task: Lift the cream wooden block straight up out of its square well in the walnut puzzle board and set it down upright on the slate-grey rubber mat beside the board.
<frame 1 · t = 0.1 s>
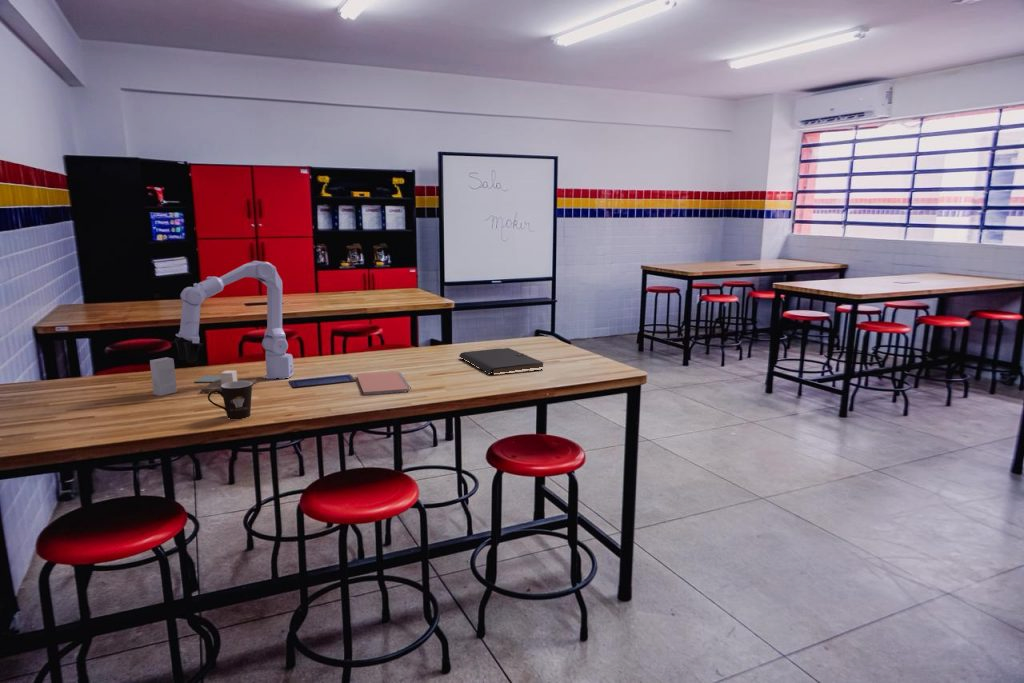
hand: (186, 361, 215), 11 cm above the table, tool pointing down, fingers open, 7 cm apart
skincare box: (165, 394, 213), on the table
cream block: (229, 380, 220), in the puzzle board
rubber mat: (212, 379, 232), on the table
dark hardcover book: (500, 366, 264), on the table
notebook: (383, 386, 229), on the table
puzzle board: (229, 388, 221), on the table
coffee mug: (233, 417, 189), on the table
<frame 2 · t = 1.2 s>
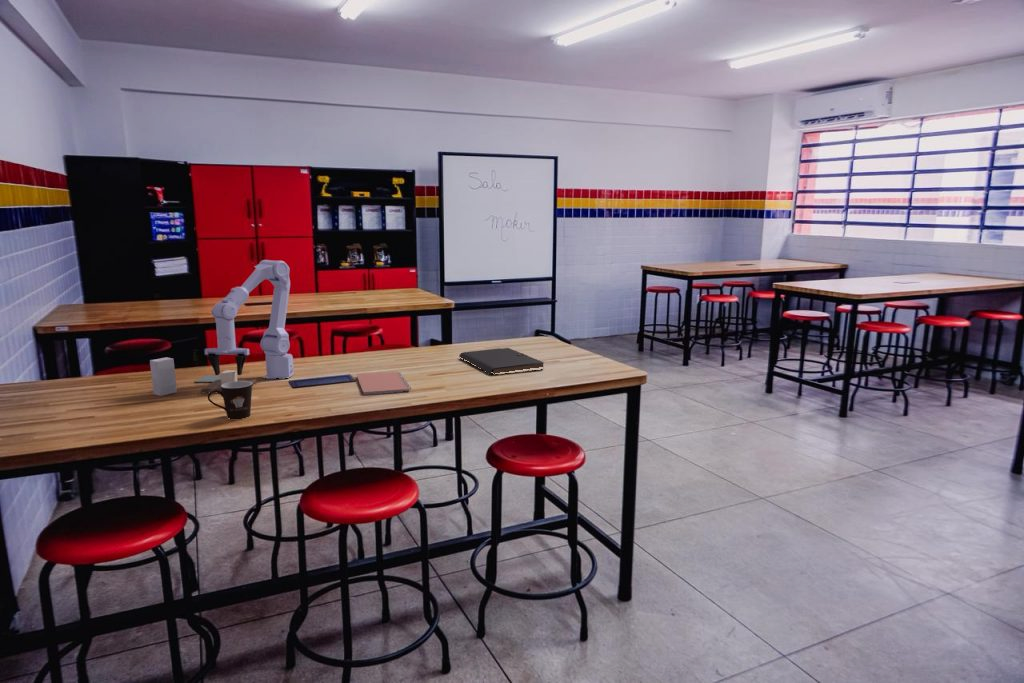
hand: (228, 374, 220), 5 cm above the table, tool pointing down, fingers open, 7 cm apart
nothing on the table moved.
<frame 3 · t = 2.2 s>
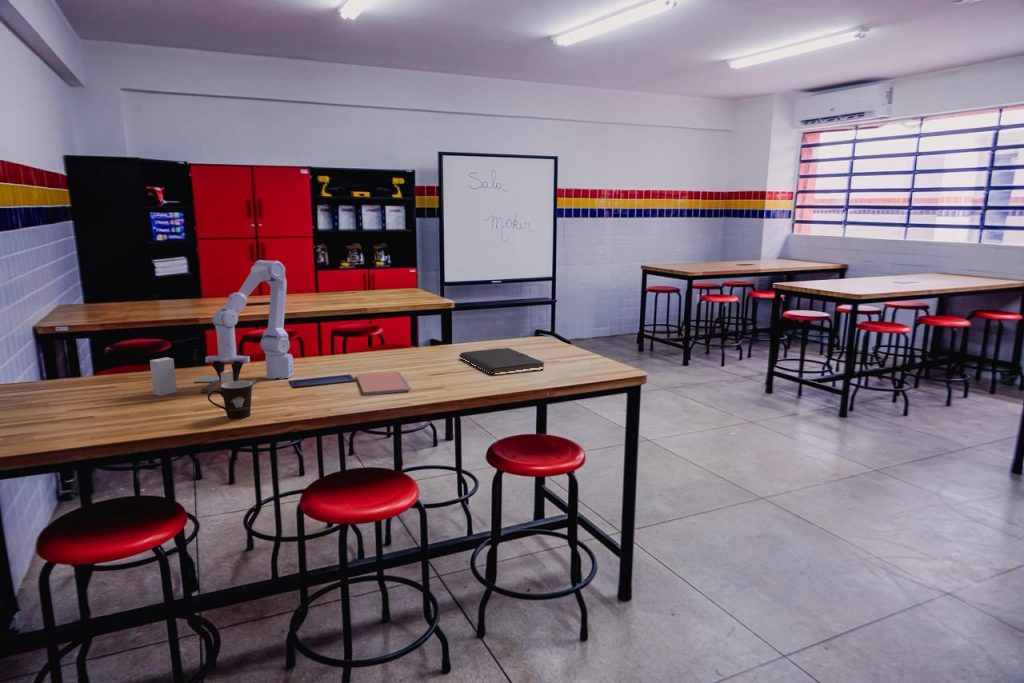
hand: (229, 382, 220), 2 cm above the table, tool pointing down, fingers closed on cream block, 4 cm apart
cream block: (229, 379, 220), in the puzzle board, touching gripper
everything else where it was.
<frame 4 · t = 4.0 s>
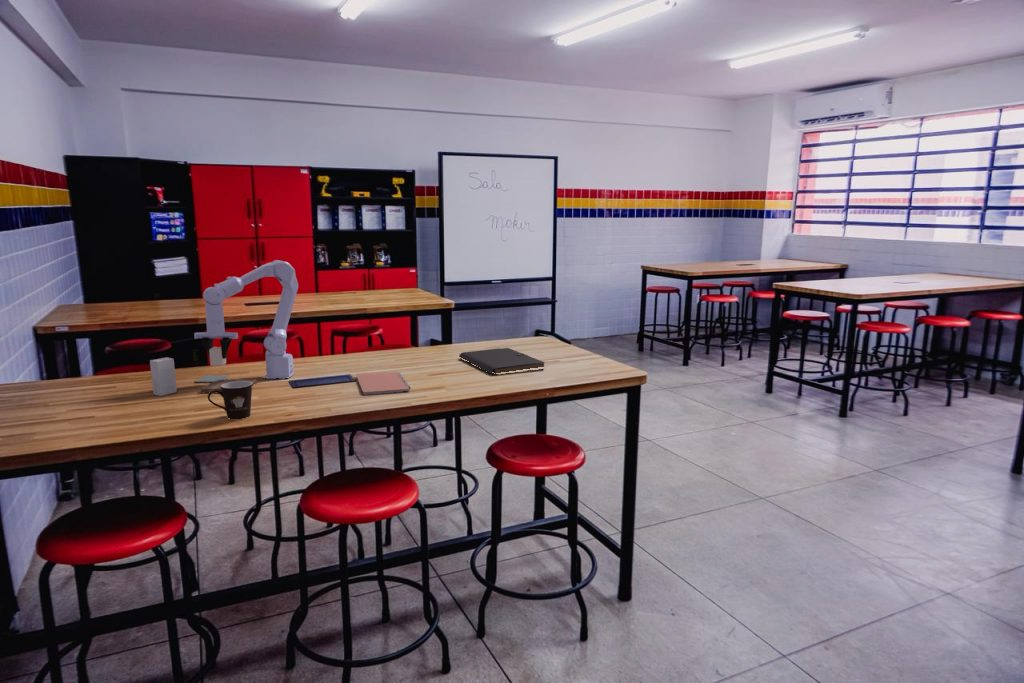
hand: (217, 358, 225), 9 cm above the table, tool pointing down, fingers closed on cream block, 4 cm apart
cream block: (217, 356, 225), point 10 cm above the table, touching gripper
everything else where it was.
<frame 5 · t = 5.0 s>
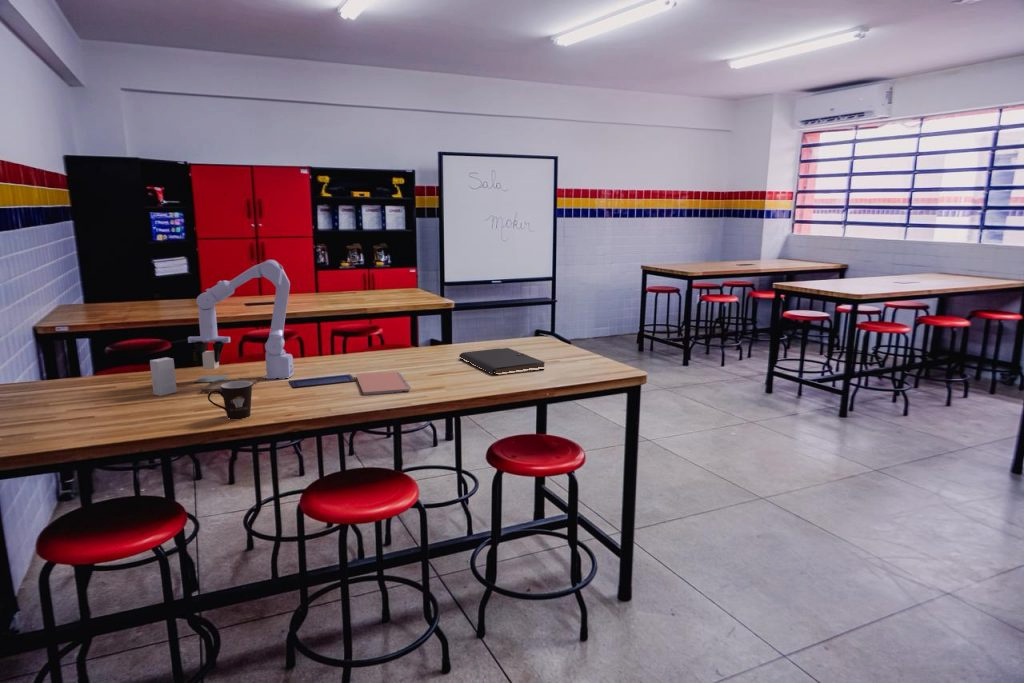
hand: (211, 361, 230), 7 cm above the table, tool pointing down, fingers closed on cream block, 4 cm apart
cream block: (210, 359, 230), point 8 cm above the table, touching gripper
everything else where it was.
when the fingers open (4 cm above the table, at t = 5.9 s): cream block drops 1 cm, resting on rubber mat.
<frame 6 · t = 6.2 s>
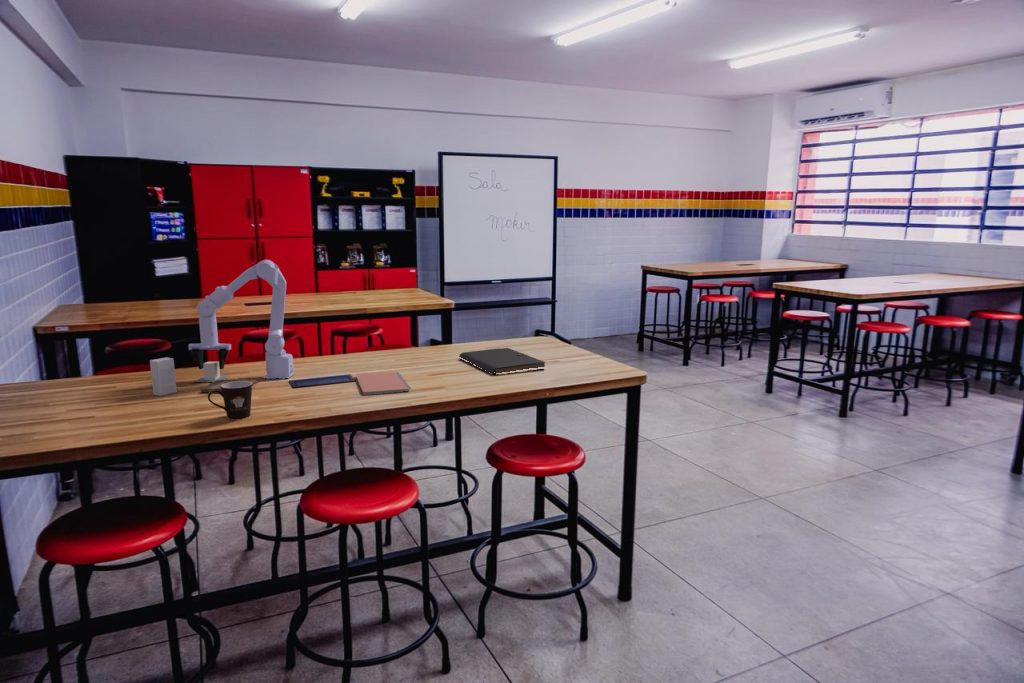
hand: (211, 368, 231), 4 cm above the table, tool pointing down, fingers open, 7 cm apart
cream block: (211, 370, 231), on the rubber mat
everything else where it was.
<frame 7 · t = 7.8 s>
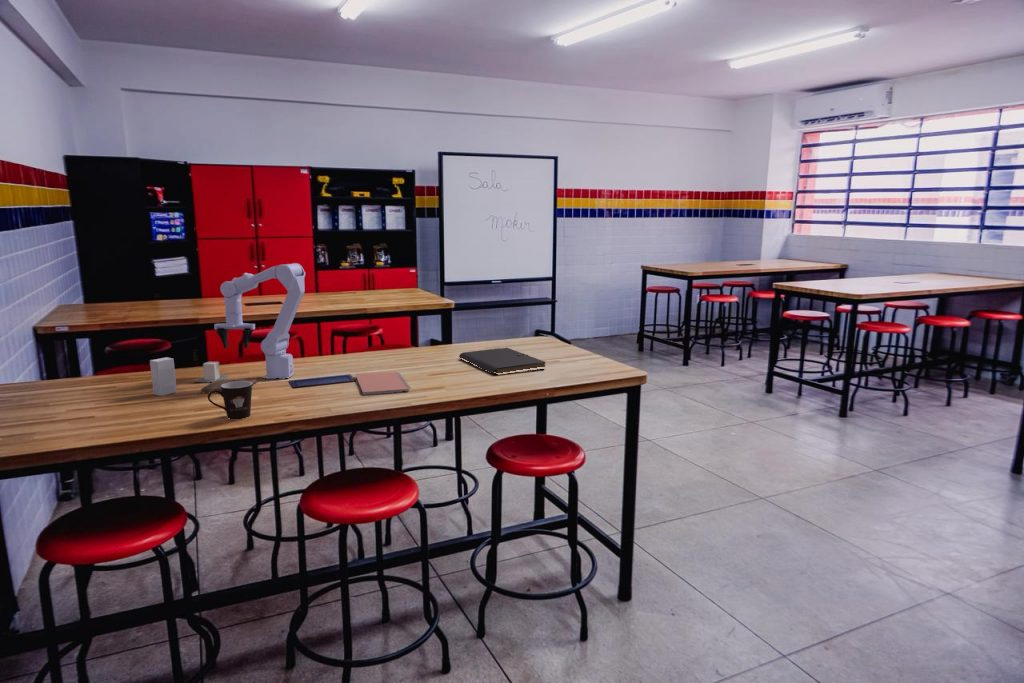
hand: (236, 347, 239), 10 cm above the table, tool pointing down, fingers open, 7 cm apart
nothing on the table moved.
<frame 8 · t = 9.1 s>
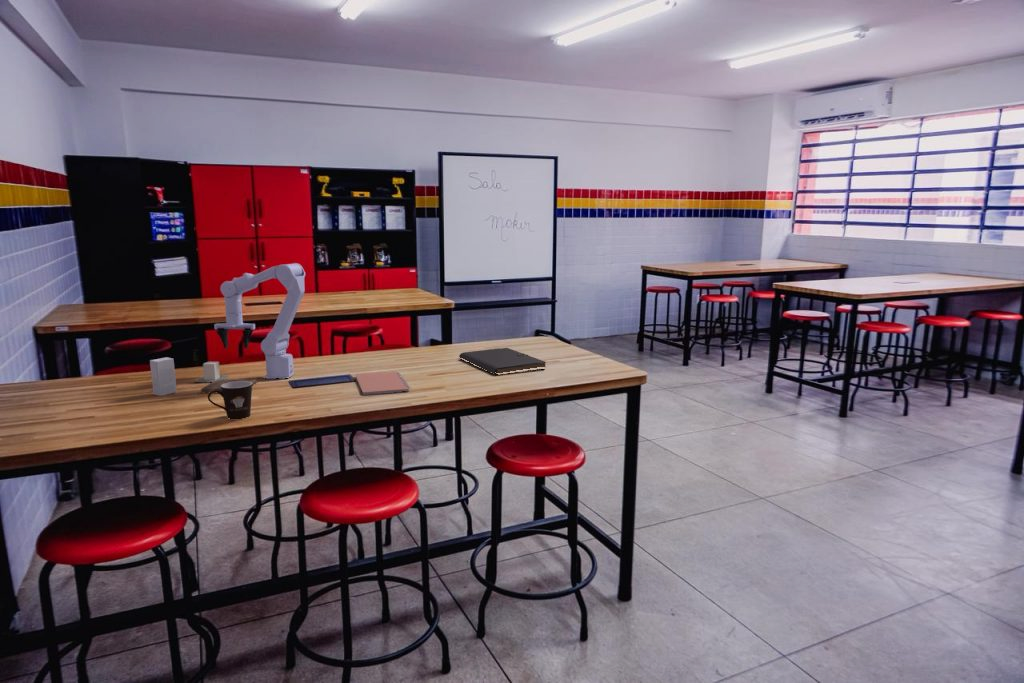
hand: (236, 347, 239), 10 cm above the table, tool pointing down, fingers open, 7 cm apart
nothing on the table moved.
at the end: cream block 0.1 cm off-centre on the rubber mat, point 3.5 cm above the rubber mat's base; cream block tilted 0°; the gripper is holding nothing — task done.
